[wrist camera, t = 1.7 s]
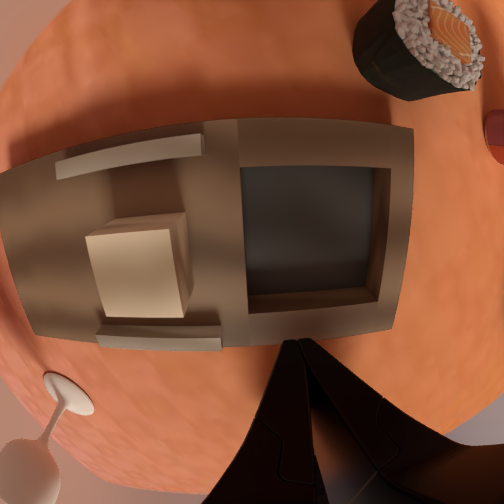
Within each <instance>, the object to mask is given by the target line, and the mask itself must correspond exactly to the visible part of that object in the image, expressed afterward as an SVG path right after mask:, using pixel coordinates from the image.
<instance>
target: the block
mask: <svg viewBox="0 0 504 504" xmlns="http://www.w3.org/2000/svg"><path fill="white" fill-rule="evenodd" d="M85 239H86V243H87V248H88V253H89V257H90V261H91V265H92V269H93V273H94V277H95V281H96V284H97V288H98V291H99V295H100V298H101V301H102V304H103V308H104V311H105V314H106V316H107V317H145V318H183V317H184V315H185V312H186V309H187V306H188V303H189V300H190V297H191V294H192V292H193V289H194V286H195V283H194V277H193V270H192V262H191V255H190V247H189V239H188V230H187V221H186V212H181V213H169V214H158V215H148V216H138V217H129V218H120V219H114V220H112V221H111V222H109V223H107V224H105V225H104V226H102V227H100V228H99V229H97V230H95V231H94V232H92V233H90V234H89V235H87V236H85Z"/></svg>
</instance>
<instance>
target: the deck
mask: <svg viewBox="0 0 504 504" xmlns="http://www.w3.org/2000/svg"><path fill="white" fill-rule="evenodd" d="M413 184H414V132H413V129H412V128H406V127H400V126H394V125H387V124H380V123H372V122H363V121H353V120H342V119H327V118H304V117H261V118H238V119H223V120H211V121H201V122H192V123H184V124H177V125H170V126H163V127H157V128H151V129H145V130H140V131H135V132H130V133H125V134H120V135H116V136H112V137H107V138H103V139H99V140H95V141H91V142H88V143H84V144H81V145H77V146H74V147H70V148H67V149H64V150H61V151H57V152H54V153H51V154H48V155H46V156H43V157H40V158H37V159H34V160H32V161H29V162H27V163H24V164H21V165H19V166H16V167H14V168H12V169H9V170H7V171H5V172H2V173H0V231H1V236H2V240H3V244H4V248H5V252H6V256H7V260H8V263H9V267H10V270H11V274H12V277H13V280H14V283H15V286H16V289H17V292H18V295H19V297H20V300H21V303H22V305H23V308H24V310H25V313H26V315H27V318H28V320H29V323H30V325H31V327H32V329H33V332H34V334H35V335H39V336H45V337H52V338H59V339H66V340H73V341H82V342H91V343H99V345H100V347H109V348H121V349H136V350H156V351H222V347H242V346H261V345H275V344H282V342H283V340H289V339H295V340H297V339H300V338H311V339H312V340H314V341H317V340H325V339H333V338H340V337H347V336H354V335H360V334H366V333H372V332H378V331H384V330H389V329H392V326H393V322H394V318H395V314H396V310H397V305H398V301H399V296H400V291H401V286H402V281H403V275H404V270H405V264H406V257H407V250H408V243H409V235H410V226H411V215H412V202H413ZM181 212H186V221H187V230H188V239H189V247H190V255H191V262H192V270H193V277H194V283H195V286H194V289H193V292H192V294H191V297H190V300H189V303H188V306H187V309H186V312H185V315H184V317H183V318H145V317H107V316H106V314H105V311H104V308H103V304H102V301H101V298H100V295H99V291H98V288H97V284H96V281H95V277H94V273H93V269H92V265H91V261H90V257H89V253H88V248H87V243H86V239H85V236H87V235H89V234H90V233H92V232H94V231H95V230H97V229H99V228H100V227H102V226H104V225H105V224H107V223H109V222H111V221H112V220H114V219H120V218H129V217H138V216H148V215H158V214H169V213H181Z"/></svg>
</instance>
